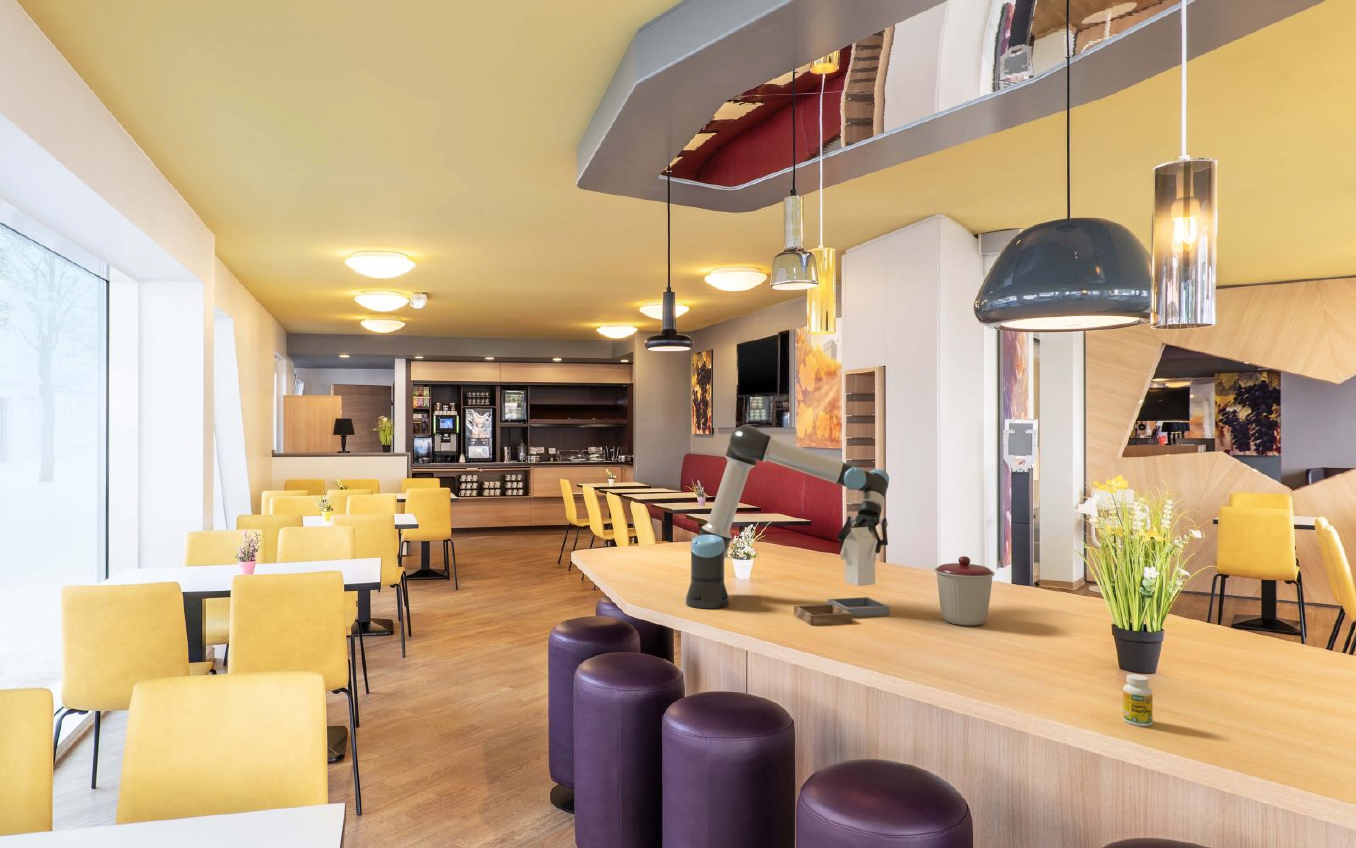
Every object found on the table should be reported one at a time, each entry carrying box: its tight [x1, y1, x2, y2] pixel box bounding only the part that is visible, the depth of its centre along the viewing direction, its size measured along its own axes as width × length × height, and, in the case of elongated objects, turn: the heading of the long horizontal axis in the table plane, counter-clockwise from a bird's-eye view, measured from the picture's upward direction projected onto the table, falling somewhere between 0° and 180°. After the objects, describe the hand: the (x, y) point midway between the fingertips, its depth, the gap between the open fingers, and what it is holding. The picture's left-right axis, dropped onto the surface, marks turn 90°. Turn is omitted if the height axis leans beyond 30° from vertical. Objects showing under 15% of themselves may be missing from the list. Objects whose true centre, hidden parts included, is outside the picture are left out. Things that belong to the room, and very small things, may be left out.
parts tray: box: [827, 596, 890, 619], centre depth 268 cm, size 15×15×3 cm
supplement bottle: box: [1122, 673, 1154, 728], centre depth 167 cm, size 5×5×10 cm
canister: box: [934, 555, 995, 627], centre depth 254 cm, size 18×18×21 cm
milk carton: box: [844, 527, 876, 587], centre depth 268 cm, size 7×7×19 cm
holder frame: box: [793, 603, 853, 626], centre depth 257 cm, size 14×14×3 cm
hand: (857, 558), depth 265 cm, fingers closed on milk carton, 10 cm apart
